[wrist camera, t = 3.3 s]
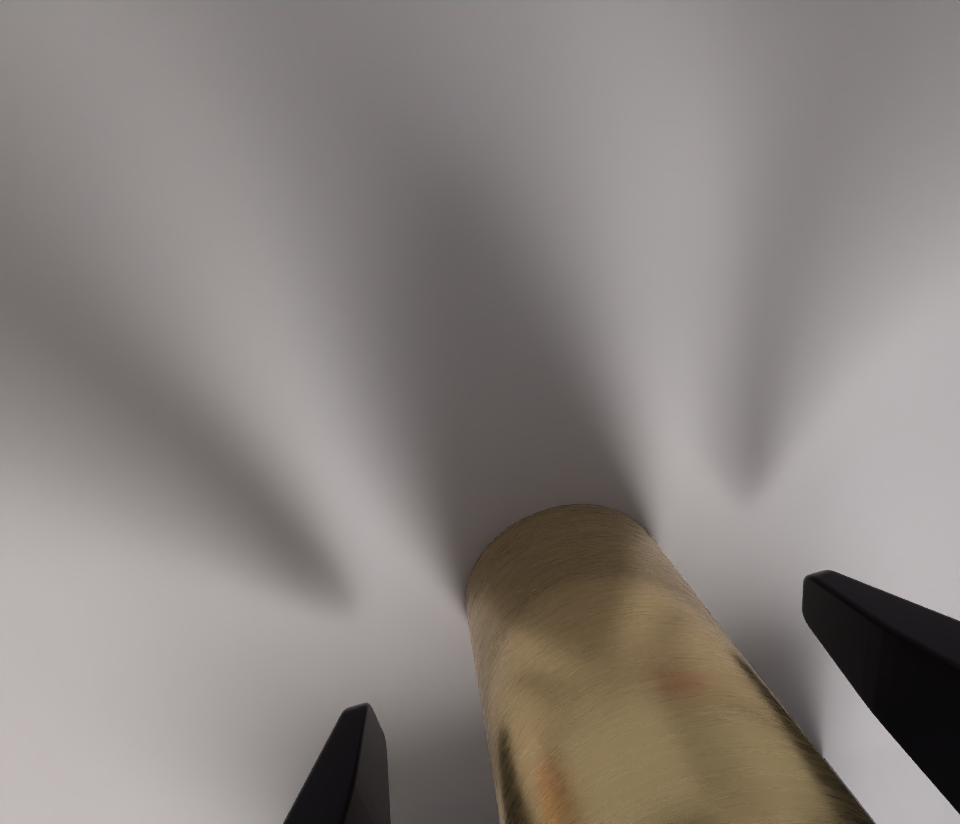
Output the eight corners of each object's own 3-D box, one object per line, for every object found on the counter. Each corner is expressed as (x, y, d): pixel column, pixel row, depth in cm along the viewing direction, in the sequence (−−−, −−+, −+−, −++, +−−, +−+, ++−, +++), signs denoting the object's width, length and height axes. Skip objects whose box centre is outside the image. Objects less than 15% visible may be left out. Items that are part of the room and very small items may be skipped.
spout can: (667, 635, 11) (1160, 1415, 4) (489, 687, 10) (655, 1612, 3) (652, 480, 9) (1453, 1314, 2) (443, 537, 9) (578, 1665, 2)
